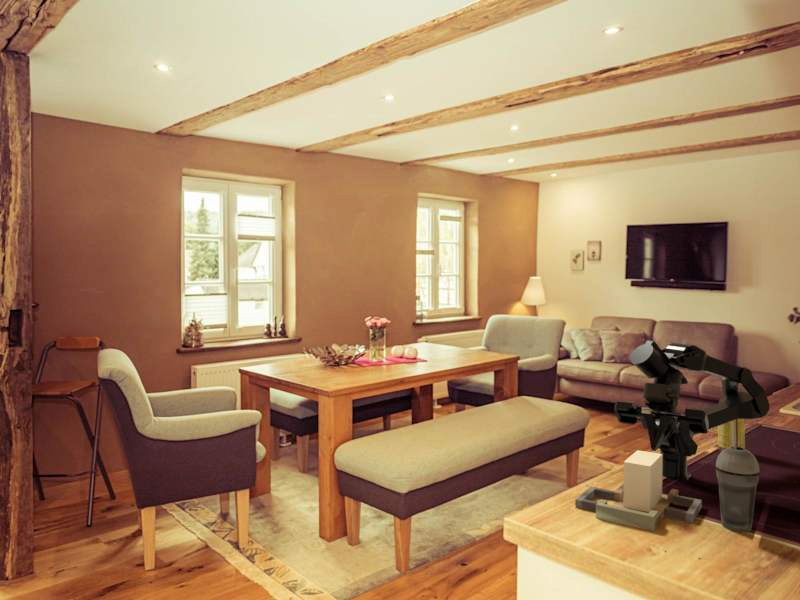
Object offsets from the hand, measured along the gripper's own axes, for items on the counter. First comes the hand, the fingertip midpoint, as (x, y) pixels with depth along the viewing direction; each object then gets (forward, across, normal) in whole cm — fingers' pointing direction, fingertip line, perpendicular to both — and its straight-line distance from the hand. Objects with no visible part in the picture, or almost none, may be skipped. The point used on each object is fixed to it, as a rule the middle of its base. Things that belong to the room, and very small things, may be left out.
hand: (653, 449), depth 129 cm
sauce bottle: (-24, +9, +39) cm, 47 cm away
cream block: (+12, 0, 0) cm, 12 cm away
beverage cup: (+15, +17, -1) cm, 23 cm away
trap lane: (+15, 0, -1) cm, 15 cm away
